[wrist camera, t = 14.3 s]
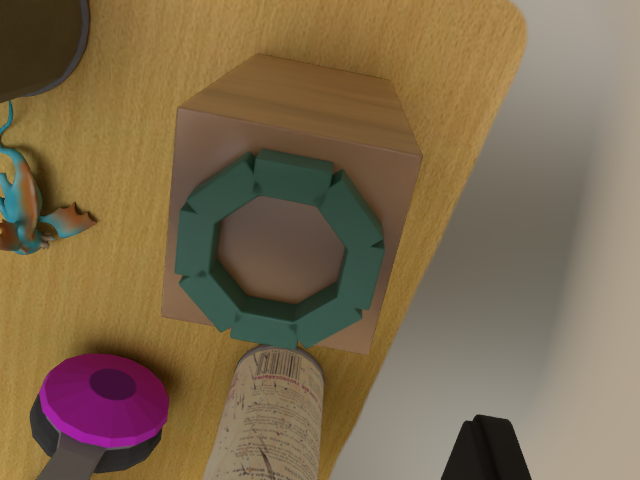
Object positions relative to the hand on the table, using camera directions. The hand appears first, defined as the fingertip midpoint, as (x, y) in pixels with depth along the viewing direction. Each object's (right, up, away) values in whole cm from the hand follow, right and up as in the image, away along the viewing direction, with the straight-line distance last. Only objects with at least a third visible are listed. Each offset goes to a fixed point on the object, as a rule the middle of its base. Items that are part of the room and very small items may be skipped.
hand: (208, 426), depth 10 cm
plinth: (+2, +10, +24) cm, 26 cm away
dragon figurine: (-16, +7, +26) cm, 32 cm away
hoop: (+1, +3, +9) cm, 10 cm away
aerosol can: (-1, -7, +32) cm, 32 cm away
